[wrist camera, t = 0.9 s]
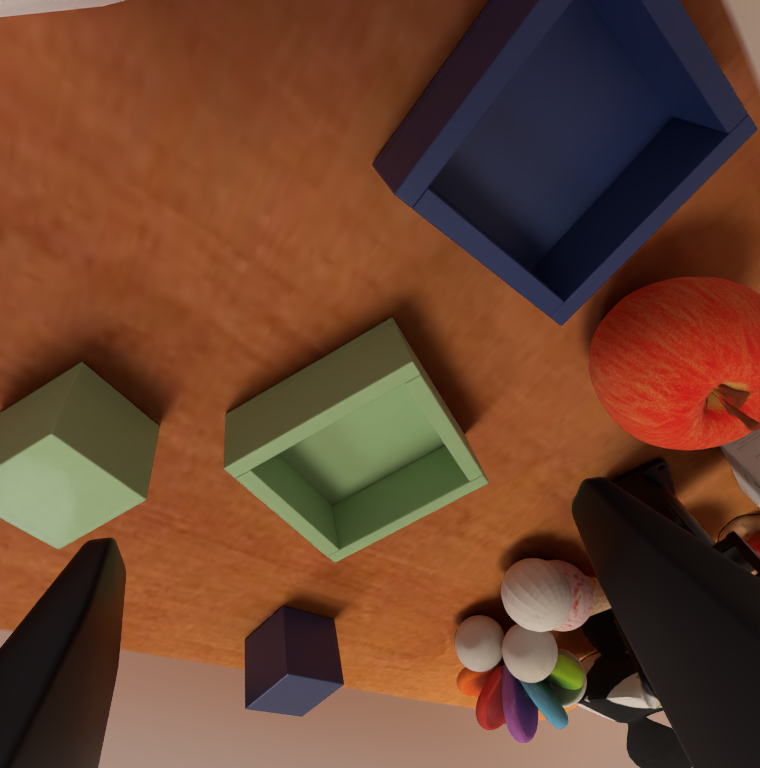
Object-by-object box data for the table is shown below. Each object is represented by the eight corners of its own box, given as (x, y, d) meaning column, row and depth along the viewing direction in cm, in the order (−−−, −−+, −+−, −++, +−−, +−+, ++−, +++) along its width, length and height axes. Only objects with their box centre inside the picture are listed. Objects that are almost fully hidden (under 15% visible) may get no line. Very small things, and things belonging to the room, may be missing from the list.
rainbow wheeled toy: (445, 603, 42) (420, 703, 38) (563, 618, 36) (550, 738, 32) (492, 644, 46) (474, 737, 42) (605, 663, 40) (597, 774, 36)
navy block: (334, 619, 37) (344, 684, 34) (296, 651, 39) (302, 717, 35) (282, 605, 35) (287, 674, 31) (244, 640, 36) (244, 709, 33)
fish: (560, 612, 37) (746, 561, 39) (494, 624, 54) (625, 589, 56) (640, 831, 31) (850, 758, 34) (538, 767, 49) (680, 721, 51)
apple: (736, 303, 27) (884, 395, 21) (615, 407, 30) (714, 516, 24) (665, 214, 23) (822, 296, 17) (533, 345, 26) (626, 456, 20)
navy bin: (688, 110, 21) (758, 129, 18) (523, 287, 24) (561, 326, 21) (551, -88, 16) (618, -105, 13) (371, 164, 19) (393, 194, 16)
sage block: (160, 426, 24) (147, 499, 21) (84, 471, 25) (58, 550, 21) (82, 360, 21) (51, 433, 18) (-2, 413, 22) (-48, 493, 19)
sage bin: (465, 435, 29) (489, 483, 26) (325, 510, 30) (334, 563, 27) (392, 316, 23) (413, 361, 21) (224, 414, 25) (222, 468, 22)
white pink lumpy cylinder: (649, 643, 41) (520, 649, 33) (602, 601, 45) (476, 597, 37) (679, 593, 40) (553, 587, 32) (628, 554, 44) (505, 541, 36)
